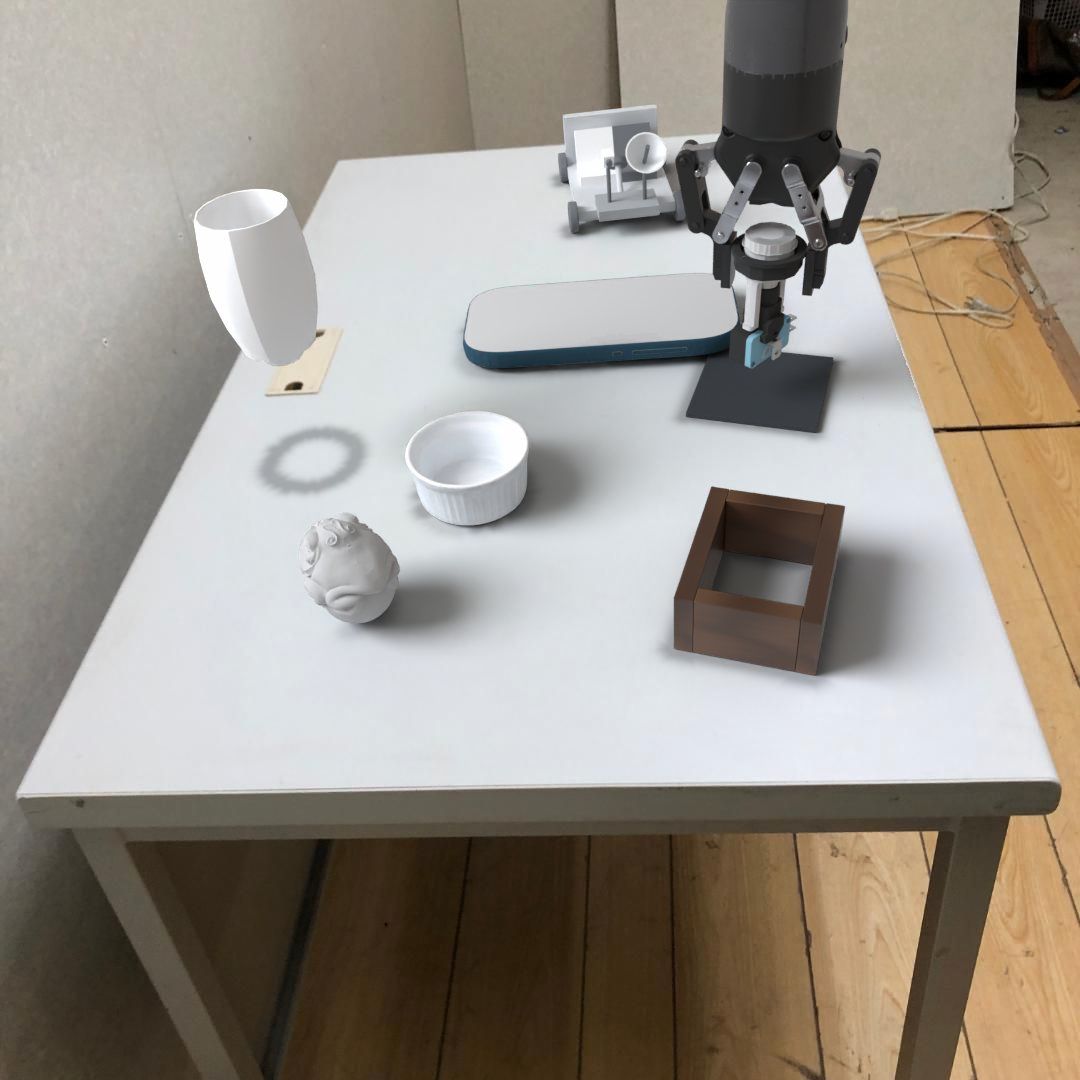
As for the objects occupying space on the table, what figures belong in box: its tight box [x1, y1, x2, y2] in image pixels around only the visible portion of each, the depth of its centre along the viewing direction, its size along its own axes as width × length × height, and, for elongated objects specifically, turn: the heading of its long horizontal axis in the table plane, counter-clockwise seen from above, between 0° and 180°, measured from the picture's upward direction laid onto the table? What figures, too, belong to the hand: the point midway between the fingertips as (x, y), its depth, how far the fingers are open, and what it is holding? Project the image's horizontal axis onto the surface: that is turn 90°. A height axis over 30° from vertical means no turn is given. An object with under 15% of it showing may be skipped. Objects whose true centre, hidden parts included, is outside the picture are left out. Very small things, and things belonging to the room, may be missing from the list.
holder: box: [673, 486, 846, 676], centre depth 66 cm, size 9×11×4 cm
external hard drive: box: [462, 272, 741, 369], centre depth 92 cm, size 24×12×2 cm, turn 88°
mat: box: [685, 347, 834, 434], centre depth 85 cm, size 10×10×1 cm
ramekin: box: [404, 410, 530, 526], centre depth 77 cm, size 9×9×4 cm
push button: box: [729, 221, 808, 369], centre depth 79 cm, size 7×5×10 cm
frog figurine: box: [298, 512, 401, 624], centre depth 68 cm, size 6×7×7 cm
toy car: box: [557, 104, 686, 234], centre depth 108 cm, size 18×10×12 cm
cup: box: [193, 188, 319, 367], centre depth 76 cm, size 7×7×21 cm
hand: (768, 286), depth 79 cm, fingers closed on push button, 5 cm apart
